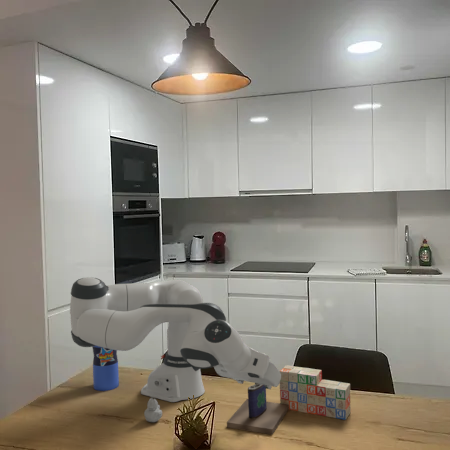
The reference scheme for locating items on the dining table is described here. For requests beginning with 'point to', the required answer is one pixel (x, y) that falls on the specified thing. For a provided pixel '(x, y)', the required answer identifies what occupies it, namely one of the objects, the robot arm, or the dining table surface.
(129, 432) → the dining table surface
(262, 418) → the walnut board
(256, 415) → the flask
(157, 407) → the rubber duck
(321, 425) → the dining table surface
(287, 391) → the stack of blocks
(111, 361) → the water bottle
